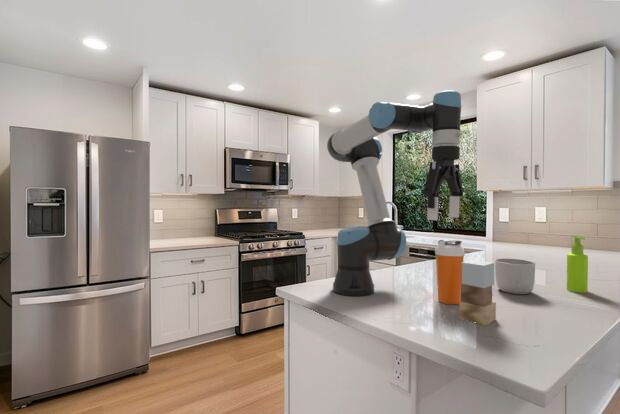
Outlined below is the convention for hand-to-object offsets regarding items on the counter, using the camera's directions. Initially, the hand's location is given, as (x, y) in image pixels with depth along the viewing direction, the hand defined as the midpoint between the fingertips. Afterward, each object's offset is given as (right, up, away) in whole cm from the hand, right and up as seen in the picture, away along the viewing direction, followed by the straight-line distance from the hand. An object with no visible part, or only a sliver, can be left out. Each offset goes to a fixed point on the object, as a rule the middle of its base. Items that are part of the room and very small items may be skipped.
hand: (443, 218), depth 98 cm
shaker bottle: (+6, -28, +10) cm, 30 cm away
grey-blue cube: (+7, -18, -6) cm, 20 cm away
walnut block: (+7, -23, -6) cm, 25 cm away
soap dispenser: (+57, -27, +22) cm, 67 cm away
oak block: (+7, -28, -5) cm, 29 cm away
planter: (+35, -27, +22) cm, 49 cm away
